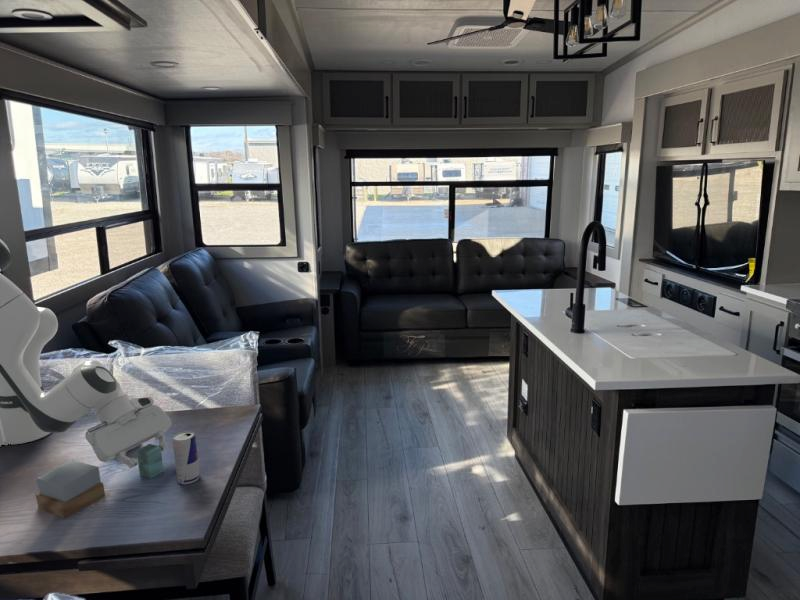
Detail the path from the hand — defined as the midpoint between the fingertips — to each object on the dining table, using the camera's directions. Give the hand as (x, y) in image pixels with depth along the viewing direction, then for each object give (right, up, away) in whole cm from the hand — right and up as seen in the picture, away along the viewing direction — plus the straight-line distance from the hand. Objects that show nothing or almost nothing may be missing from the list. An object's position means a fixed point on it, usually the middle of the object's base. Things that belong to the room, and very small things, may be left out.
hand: (150, 457), depth 144 cm
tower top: (-14, -4, -11) cm, 18 cm away
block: (0, -5, +2) cm, 5 cm away
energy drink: (+11, -5, -2) cm, 12 cm away
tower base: (-14, -8, -10) cm, 19 cm away
